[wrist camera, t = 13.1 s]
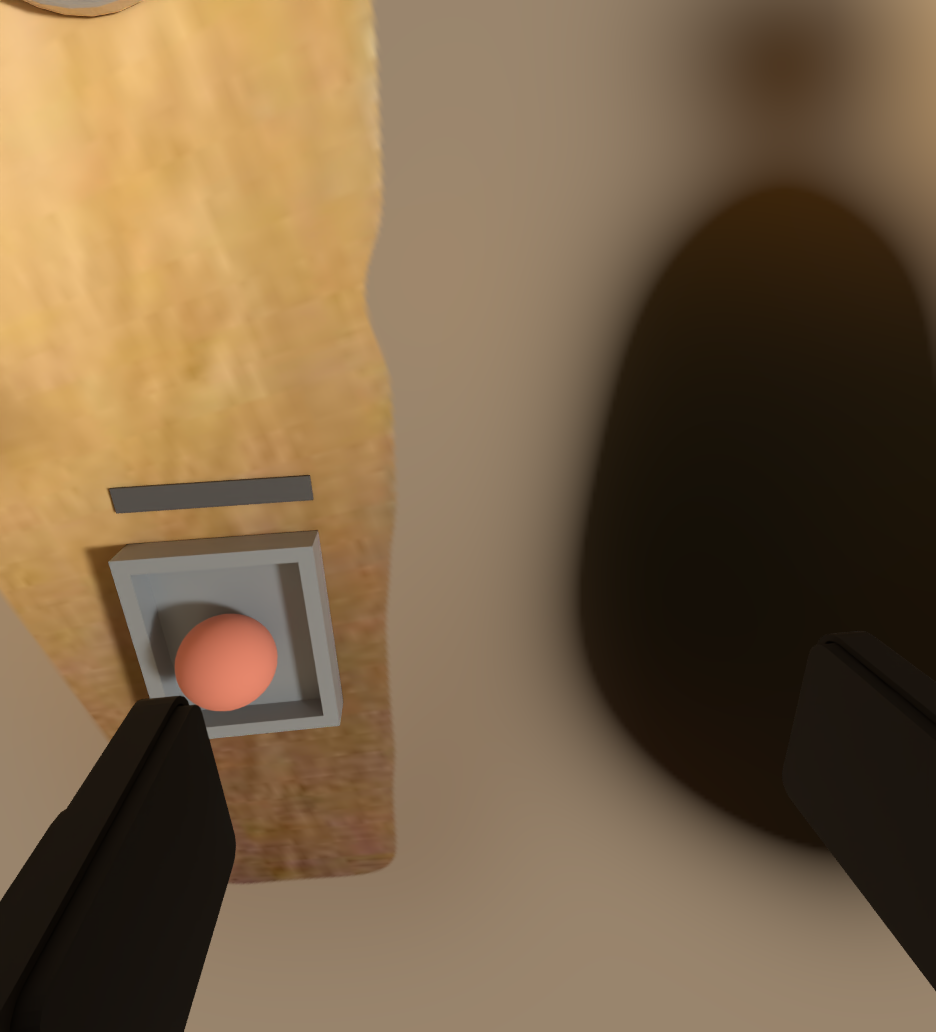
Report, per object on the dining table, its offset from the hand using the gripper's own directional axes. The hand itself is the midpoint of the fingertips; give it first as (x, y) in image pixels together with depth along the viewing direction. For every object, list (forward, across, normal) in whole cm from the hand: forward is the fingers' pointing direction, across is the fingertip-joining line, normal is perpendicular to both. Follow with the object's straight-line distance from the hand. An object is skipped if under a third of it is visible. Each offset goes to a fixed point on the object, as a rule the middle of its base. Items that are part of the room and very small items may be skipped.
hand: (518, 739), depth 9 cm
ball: (+25, +14, +15) cm, 32 cm away
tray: (+28, +14, +15) cm, 35 cm away
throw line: (+28, +14, +5) cm, 32 cm away
